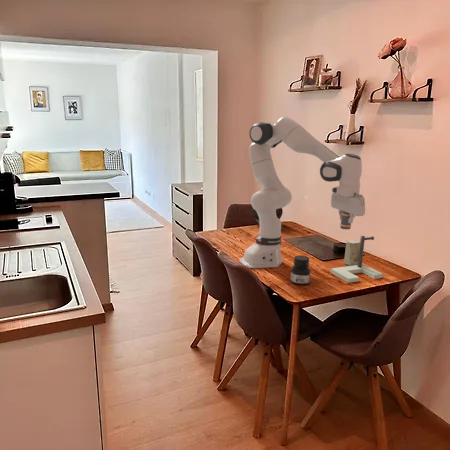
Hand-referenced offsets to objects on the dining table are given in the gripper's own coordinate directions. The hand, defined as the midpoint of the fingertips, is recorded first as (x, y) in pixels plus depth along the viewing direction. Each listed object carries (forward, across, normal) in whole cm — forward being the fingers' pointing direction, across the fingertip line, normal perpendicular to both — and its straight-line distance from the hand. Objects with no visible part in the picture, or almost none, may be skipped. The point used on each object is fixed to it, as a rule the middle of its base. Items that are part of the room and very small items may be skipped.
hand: (345, 221), depth 187 cm
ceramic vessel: (+29, +103, -14) cm, 108 cm away
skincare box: (+29, +18, -20) cm, 40 cm away
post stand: (+29, +4, -14) cm, 32 cm away
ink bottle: (+29, +5, +18) cm, 35 cm away
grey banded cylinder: (+3, 0, 0) cm, 3 cm away
